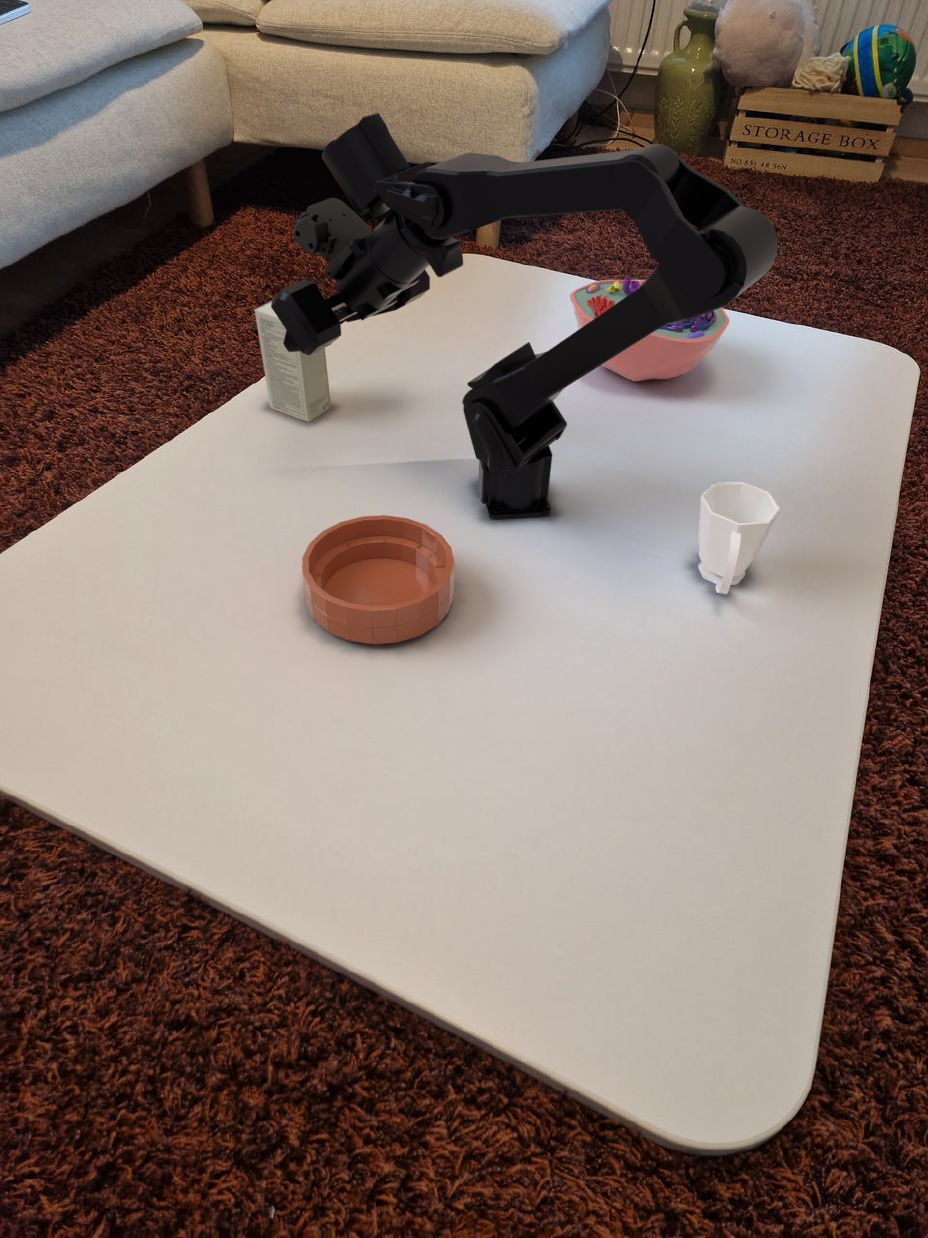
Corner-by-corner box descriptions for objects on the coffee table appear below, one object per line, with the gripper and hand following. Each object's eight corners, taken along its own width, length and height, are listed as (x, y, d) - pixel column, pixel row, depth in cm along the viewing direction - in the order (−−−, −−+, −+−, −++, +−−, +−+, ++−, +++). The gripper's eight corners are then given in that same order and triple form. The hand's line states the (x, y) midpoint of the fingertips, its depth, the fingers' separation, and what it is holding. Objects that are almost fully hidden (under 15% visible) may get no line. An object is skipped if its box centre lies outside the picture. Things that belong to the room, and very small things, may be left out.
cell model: (602, 324, 127) (613, 241, 119) (737, 367, 118) (758, 281, 111) (537, 370, 117) (544, 282, 109) (679, 420, 108) (698, 329, 101)
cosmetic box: (332, 408, 108) (324, 308, 100) (308, 424, 105) (297, 323, 97) (291, 393, 111) (280, 294, 102) (266, 408, 108) (253, 308, 100)
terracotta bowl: (443, 549, 89) (443, 511, 86) (461, 643, 79) (463, 604, 76) (305, 558, 87) (301, 519, 84) (307, 654, 78) (302, 615, 75)
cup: (759, 556, 89) (781, 487, 84) (756, 622, 82) (780, 552, 77) (687, 543, 91) (703, 474, 85) (678, 607, 83) (695, 537, 78)
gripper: (407, 156, 91) (331, 241, 103) (274, 204, 80) (206, 294, 92) (468, 255, 93) (387, 327, 105) (347, 316, 82) (272, 389, 94)
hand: (316, 332), depth 99 cm, fingers open, 9 cm apart
